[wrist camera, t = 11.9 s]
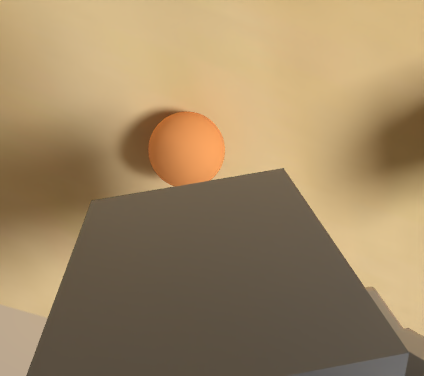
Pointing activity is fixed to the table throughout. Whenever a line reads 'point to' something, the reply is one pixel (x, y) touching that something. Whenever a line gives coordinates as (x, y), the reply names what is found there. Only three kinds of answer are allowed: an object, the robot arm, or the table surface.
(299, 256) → the grey rectangular prism
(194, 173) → the ball
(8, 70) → the table surface
